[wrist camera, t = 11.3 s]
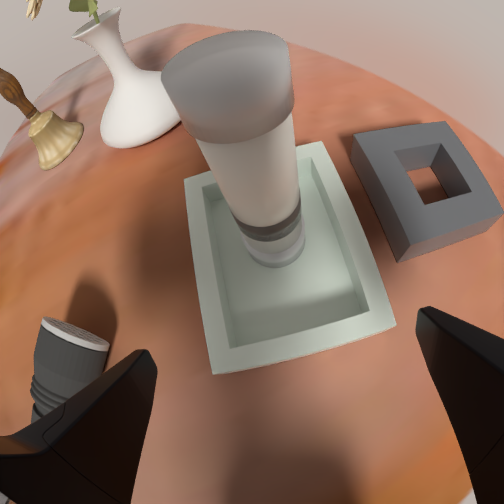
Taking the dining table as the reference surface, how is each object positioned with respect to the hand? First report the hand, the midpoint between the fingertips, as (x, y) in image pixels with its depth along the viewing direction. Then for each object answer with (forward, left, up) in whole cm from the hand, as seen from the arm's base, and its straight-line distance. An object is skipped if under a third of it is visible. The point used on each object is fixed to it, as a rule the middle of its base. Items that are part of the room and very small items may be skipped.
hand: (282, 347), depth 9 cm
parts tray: (+6, -1, -9) cm, 11 cm away
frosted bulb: (+7, -1, -8) cm, 11 cm away
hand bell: (+30, +23, -9) cm, 39 cm away
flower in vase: (+25, +8, -9) cm, 28 cm away
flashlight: (-2, +18, -9) cm, 20 cm away
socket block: (+8, -13, -9) cm, 18 cm away
